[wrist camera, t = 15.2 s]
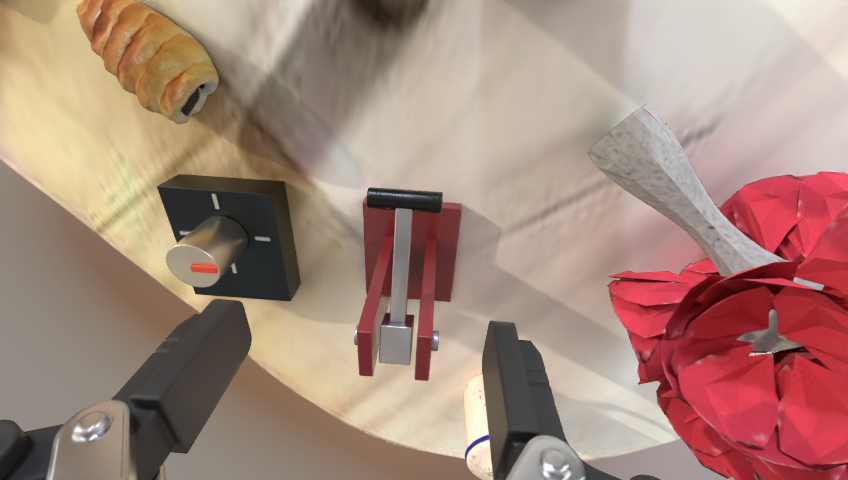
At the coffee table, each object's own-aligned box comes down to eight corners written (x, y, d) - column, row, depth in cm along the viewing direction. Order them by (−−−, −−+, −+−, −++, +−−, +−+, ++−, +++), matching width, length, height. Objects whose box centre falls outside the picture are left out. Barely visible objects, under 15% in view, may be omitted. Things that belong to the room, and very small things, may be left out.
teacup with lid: (492, 420, 50) (503, 517, 40) (447, 388, 47) (448, 486, 37) (565, 383, 45) (599, 484, 35) (521, 346, 42) (544, 444, 32)
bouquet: (515, 218, 41) (706, 442, 37) (464, 237, 19) (923, 800, 15) (695, 72, 34) (960, 328, 29) (941, -165, 12) (2139, 699, 7)
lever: (371, 186, 25) (365, 187, 23) (442, 191, 25) (442, 193, 23) (365, 345, 27) (358, 361, 25) (430, 350, 27) (429, 367, 25)
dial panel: (178, 174, 33) (155, 187, 31) (284, 181, 33) (270, 195, 30) (211, 276, 40) (194, 295, 37) (300, 283, 39) (290, 302, 37)
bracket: (365, 196, 34) (321, 289, 22) (460, 203, 33) (469, 301, 22) (368, 288, 39) (334, 402, 27) (450, 294, 39) (452, 411, 27)
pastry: (84, 37, 28) (36, 38, 24) (119, -39, 25) (70, -49, 22) (194, 127, 31) (164, 138, 28) (234, 68, 28) (207, 73, 25)
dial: (209, 253, 34) (172, 288, 30) (196, 213, 32) (155, 245, 27) (252, 256, 34) (222, 291, 29) (243, 217, 32) (209, 248, 27)
